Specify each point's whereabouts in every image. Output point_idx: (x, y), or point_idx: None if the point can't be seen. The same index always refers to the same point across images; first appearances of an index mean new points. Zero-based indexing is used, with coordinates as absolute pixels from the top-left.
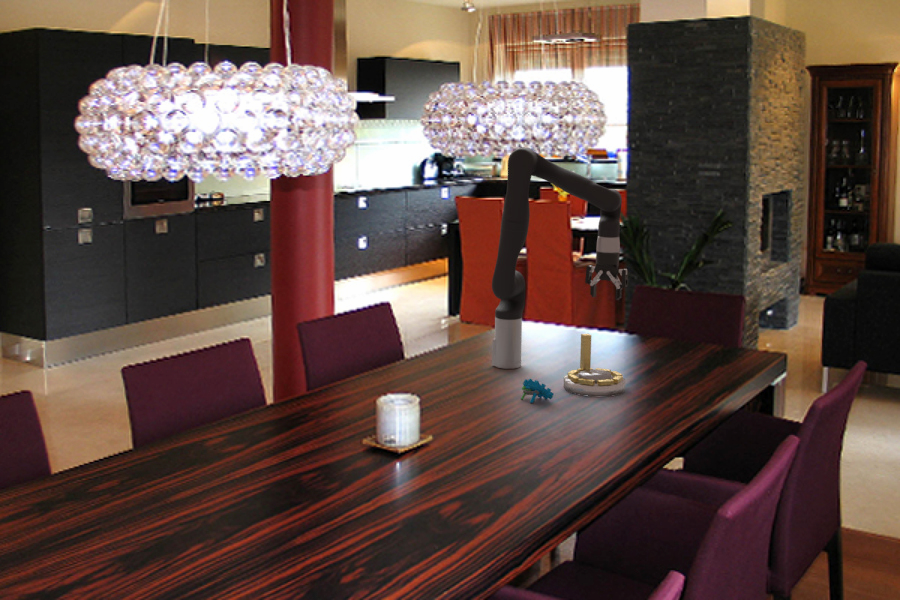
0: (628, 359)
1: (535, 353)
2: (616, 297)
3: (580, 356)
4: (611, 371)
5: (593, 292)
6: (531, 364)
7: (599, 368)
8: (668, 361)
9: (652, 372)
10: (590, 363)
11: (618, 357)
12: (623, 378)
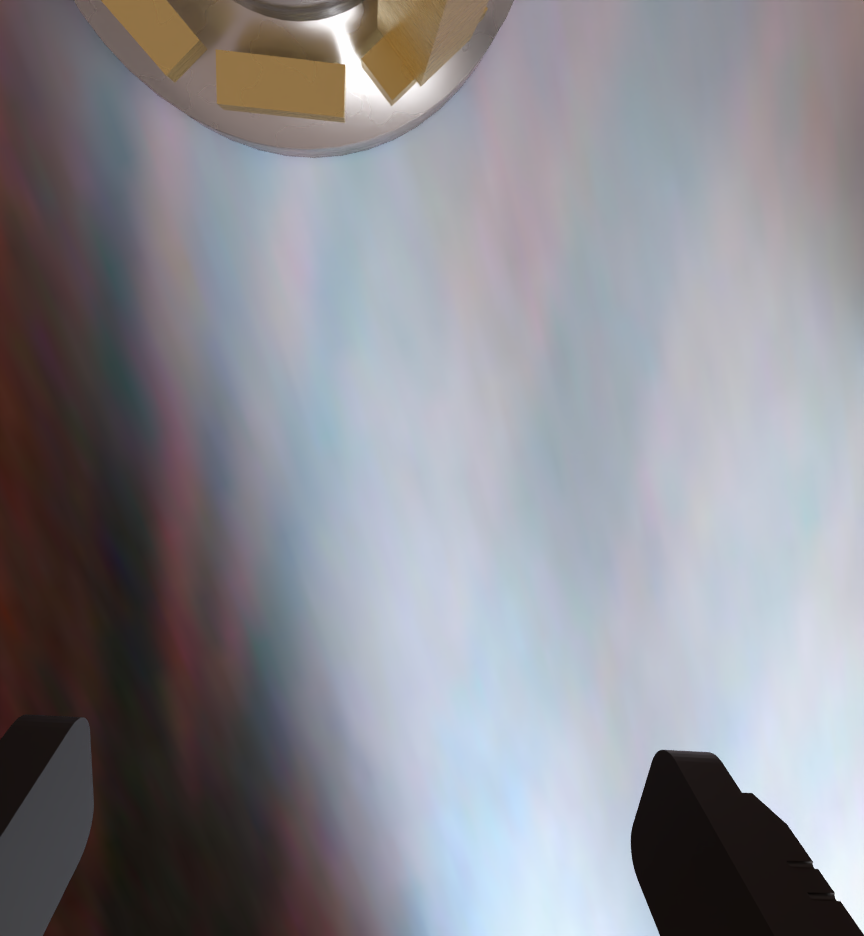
0: (333, 745)
1: (844, 651)
2: (24, 751)
3: (486, 2)
4: (191, 38)
5: (722, 834)
6: (840, 408)
7: (319, 109)
8: (118, 796)
9: (100, 538)
10: (378, 10)
11: (397, 759)
12: (84, 12)
